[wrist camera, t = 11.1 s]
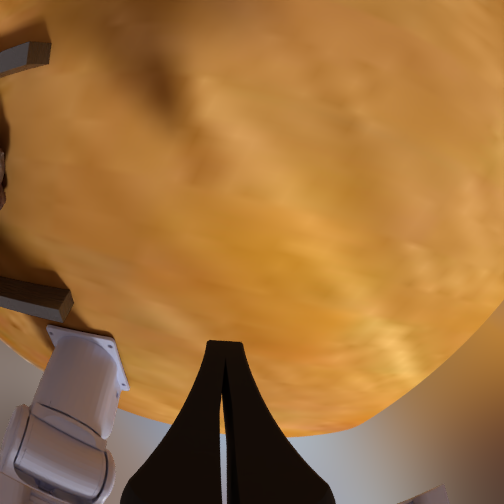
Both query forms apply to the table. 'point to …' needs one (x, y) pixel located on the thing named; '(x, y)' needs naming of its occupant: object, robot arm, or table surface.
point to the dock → (13, 291)
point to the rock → (0, 169)
